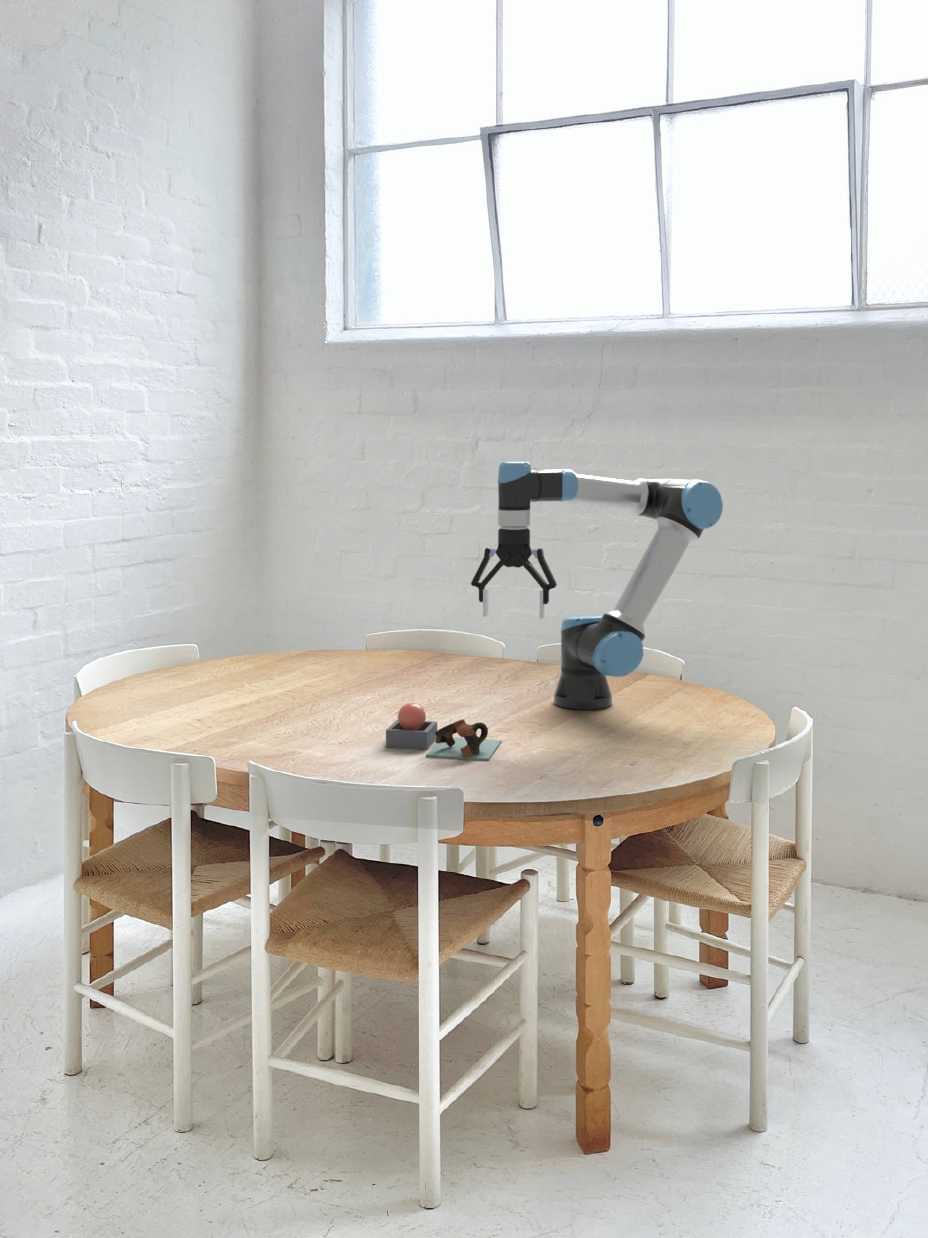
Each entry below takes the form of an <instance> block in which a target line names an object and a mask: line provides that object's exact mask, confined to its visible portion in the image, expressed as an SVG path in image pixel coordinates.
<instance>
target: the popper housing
mask: <svg viewBox="0 0 928 1238" xmlns="http://www.w3.org/2000/svg"><path fill="white" fill-rule="evenodd" d="M436 731H438V721H432V720H425V723H424V725H423V726H422V727H421V728H420V729H418V730H406V729H404V728H403V727H402V726H401V725H400V724H399V721H398V718H397V719H396V720H395V721H394V722H393V723H392V724H390V725H389V726H388V728H386V729H385V747H386V748H398V749H413V750H429V749H430V747H432V745H433V744H434V743H435V742H436V738H437V736H436V734H435V732H436Z"/></svg>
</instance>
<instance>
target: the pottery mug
mask: <svg viewBox="0 0 928 1238" xmlns="http://www.w3.org/2000/svg"><path fill="white" fill-rule="evenodd" d="M478 730H480V735H479V736H478V735H477V731H478ZM435 734H436V736H437V738H436V740H435V744H436V743H439V744H440V743H447V745H448V746H449V747H451V746H453V745H454V744H455V740H454V739H453V738H454V736H453V735H455V734H457V735H458V736H459V737H460V738H465V740H466V742H467V745H466V746H465V747H463V748H461V749H460V750H461V752H462V755H463V758H465V757H468V756H470V755H472V754H477V753H479V752H480V750H479V746H480V744H481V743H482V742H483V741H484V740H485V739H487V737H488V734H489V727H488V726H487V724H485V723H484V722H481V721H480V722H476V723H473V724H468V723H466V719H459V720H456V721H455V722H453V723H449V724H448V725H445V726H443V727H441V728H439V729H437V731H436V732H435Z"/></svg>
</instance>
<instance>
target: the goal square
mask: <svg viewBox="0 0 928 1238" xmlns="http://www.w3.org/2000/svg"><path fill="white" fill-rule="evenodd" d="M453 739H454V740H455V744H454V745H453V746H451V747H449V746H448V745H447V743H440V744H439V743H436V742H435V744H434V745H433V747H431V748H430V750H429V751H428V752H427V753H426V754H425V757H426V758H437V759H438V758H439V759H457V760H468V761H469V760H472V761H473V760H474V761H485V760H488V761H491V758H492V757H493V755H494V754H495V753H496V751H497V750H498V748H499V747H500V745H501V744H502V739H487V738H486V739H485V740H484V741H483V742H482V743H481V744H480V746H479V750H480V752H479V753H477V754H472V755H470V756H468V757H465V758H463V755H462V752H461V750H460V749H461V748H463V747H465V746H466V745H467V742H466V740H465V738H464V737H453Z"/></svg>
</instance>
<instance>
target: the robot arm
mask: <svg viewBox="0 0 928 1238" xmlns="http://www.w3.org/2000/svg"><path fill="white" fill-rule="evenodd" d="M497 485H498V489H497V490H498V491H497V492H498V511H497V515H498V516H497V517H498V518H497V521H498V522H497V525H498V527H499V528H498V530H497V535H498V536H497V548H492V547H491V546H488V547H486V548H484V552H483V553H484V554H483V558H482V560H481V562H480V565H479V566H478V569H477V570H476V572H475V574H474V576H473V578H472V580H471V581H470V584H471V586H472V587H476V588H477V589H478V601H479V603H482V617H488V616H489V587H486V586H487V585H488V584H489V582H490V581H492V579H493V578H494V577H495V576H496V575H497V573H498V572H499V571H500V569H502V568H503V567H506V568H521V567H524V569H525V570H526V571H527V572H528V573H529V575H530V576H531V577H532V578H533V580H535V582H536V583H537V584H538V585H539V587H540V588H541V589H540V590H539V615H538V617H539V619H544V618H545V605H548V604H549V602H550V590H553V589H555V588H556V587H557V586H558V583H557V581H556V579H555V577H554V575H553V573H552V571H551V569H550V567H549V565H548V563H547V560H546V559H545V553H544V549H543V548H542V547H539V548H536V549H532V548H531V529H530V528H529V527H530V526H531V503H536V502H556V503H567V504H573V505H574V504H575V505H582V506H590V507H597V508H598V507H599V508H606V509H613V510H622V511H629V512H630V514H632V515H634V516H637V517H645V518H649V519H652V520H655V521H656V523H657V526H658V527H657V530H656V531H655V534H654V535H653V538H652V539H651V541H650V542H649V544H648V546H647V548H646V550H645V552H644V553H643V555H642V557H641V559H640V561H639V562H638V564H637V566H636V568H635V569H634V572H633V573H632V575H631V577H630V578H629V581H628V583H627V584H626V586H625V588H624V590H623V592H622V593H621V595H620V597H619V598H618V600H617V602H616V604H615V605H614V607H613V609H612V610H610V611H609V610H608V611H606V612H604V613H603V615H582V616H581V615H580V616H570V617H566V618H564V619H563V620H562V622H561V629H560V634H561V635H560V636H561V639H560V643H561V644H560V645H561V646H560V650H561V651H560V667H561V668H560V675H559V679H558V682H557V685H556V687H555V690H554V694H553V704H555V705H556V706H557V707H561V708H566V709H572V710H589V711H590V710H599V709H600V710H601V709H605V708H609V707H610V706H612V704H613V694H612V691H611V688H610V685H609V684H610V683H609V681H608V677H614V678H621V677H625V676H628V675H630V674H632V673H633V672H634V671H636V670H637V668H638V667H639V666H640V664H641V663H642V661H643V657H644V653H645V652H644V646H643V645H644V644H643V641H644V640H645V638H646V631H645V628H644V627H645V625H646V623H647V621H648V619H649V618H650V616H651V614H652V612H653V610H654V608H655V607H656V604H657V603H658V601H659V599H660V598H661V595H663V592H664V590H665V588H666V587H667V585H668V583H669V581H670V580H671V577H672V576H673V574H674V571H675V570H676V568H677V566H678V565H679V563H680V561H681V559H682V557H683V556H684V554H685V552H686V550H687V549H688V546H689V545H690V544H692V543H695V542H698V541H699V539H700V538H701V535H702V534H703V532H704V530H705V529H709V528H711V527H713V526H715V525H716V524H717V523H718V522H719V521H720V518H721V517H722V513H723V508H724V505H723V500H722V495H721V493H720V491H719V489H718V488H717V487H716V486H715V485H714V484H712V483H711V482H708V481H706V480H702V479H695V478H694V479H684V478H675V477H674V478H641V477H638V478H636V479H634V480H628V479H627V480H626V479H616V478H613V477H612V478H611V477H605V476H604V477H603V476H597V475H596V476H595V475H587V474H580V473H579V474H578V473H576V472H575V471H573V470H572V469H564V468H560V469H558V468H557V469H552V468H550V469H549V468H534V467H532V466H531V463H530V462H529V461H502V462H501V463H500V464H499V466H498V477H497ZM495 554H496V556H497V557H498V559H499V561H498V562H497V563H496V564H495V566H494V567H493V568H491V570H490V572H488V574H487V575H485V577H484V579H483V580H482V581H480V580H481V578H482V576H483V574H484V572H485V570H486V568H487V566H488V564H489V563H490V560H491V558H493V557H494V555H495ZM532 555H533V556H534V558H535V559H537V561H538V564H539V565H540V568H541V570H542V572H543V574H544V577H545V578H546V580H547V581H546V580H545V579H544V578H543V577H542V575H541V574H540V573H539V571H537V569H536V568H535V567H534V565H533V563H531V561H530V560H529V559H530V557H531V556H532ZM547 582H548V583H547ZM607 676H608V677H607Z"/></svg>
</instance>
